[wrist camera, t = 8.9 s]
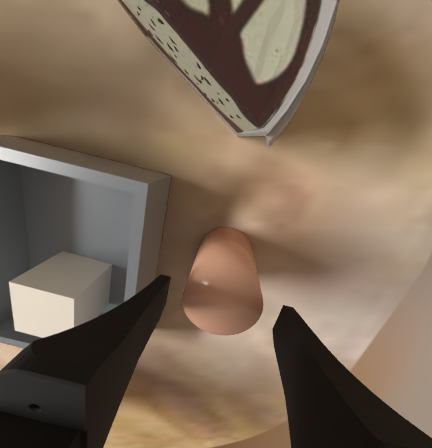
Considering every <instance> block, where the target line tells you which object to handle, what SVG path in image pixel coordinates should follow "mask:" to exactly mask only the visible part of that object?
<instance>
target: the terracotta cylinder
mask: <svg viewBox="0 0 432 448" xmlns="http://www.w3.org/2000/svg"><path fill="white" fill-rule="evenodd" d="M182 302H183V308H184V311H185V313H186V315H187V317H188V318H189V319H190V321H191V322H192V323H193V324H195V325H196V326H197V327H199V328H200V329H202V330H204V331H206V332H209V333H212V334H217V335H234V334H238V333H241V332H244V331H246V330H247V329H249V328H251V327H252V326H253V325H254V324H255V323H256V322H257V321H258V319H259V318H260V316H261V314H262V311H263V298H262V293H261V288H260V284H259V279H258V274H257V269H256V265H255V260H254V255H253V250H252V246H251V243H250V241H249V239H248V238H247V237H246V236H245V235H244V234H243V233H242V232H240V231H238V230H236V229H233V228H226V227H225V228H218V229H215V230H213V231H211V232H209V233H208V234H207V235H206V236H205V237H204V238H203V240H202V242H201V245H200V247H199V250H198V253H197V256H196V259H195V262H194V264H193V267H192V270H191V273H190V276H189V279H188V281H187V284H186V287H185V290H184V293H183V298H182Z"/></svg>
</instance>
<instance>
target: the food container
mask: <svg viewBox="0 0 432 448" xmlns="http://www.w3.org/2000/svg"><path fill="white" fill-rule="evenodd" d="M118 1H119V3H120V4H121V5H122V7H123V8H124V9H125V11H126V12H127V13H128V14H129V16H130V17H131V18H132V20H133V21H134V22H135V24H136V25H137V26H138V28H139V29H140V30H141V31H142V33H143V34H144V35H145V37H146V38H147V39H148V40H149V41H150V42H151V43H152V44H153V45H154V46H155V47H156V48H157V50H158V51H159V52H160V53H161V54H162V55H163V56H164V57H165V58H166V59H167V60H168V61H169V63H170V64H171V65H172V66H173V67H174V68H175V69H176V70H177V71H178V72H179V73H180V74H181V76H182V77H183V78H184V79H185V80H186V81H187V82H188V83H189V84H190V85H191V86H192V87H193V89H194V90H195V91H196V92H197V93H198V94H199V95H200V96H201V97H202V98H203V99H204V100H205V102H206V103H207V104H208V105H209V106H210V107H211V108H212V109H213V110H214V111H215V112H216V113H217V115H218V116H219V117H220V118H221V119H222V120H223V121H224V122H225V123H226V124H227V125H228V126H229V128H230V129H231V130H232V131H233V132H234V133H235V134H236V135H237V136H238V137H244V136H264V137H265V138H266V146H267V147H268V148H269V147H270V146H271V144H272V143H273V142H274V141H275V140H276V138H277V137H278V136H279V135H280V134H281V133H282V131H283V130H284V129H285V128H286V126H287V124H288V123H289V121H290V120H291V118H292V117H293V115H294V114H295V112H296V111H297V109H298V107H299V106H300V104H301V102H302V100H303V98H304V96H305V94H306V92H307V89H308V87H309V85H310V83H311V81H312V79H313V77H314V75H315V73H316V70H317V68H318V66H319V64H320V62H321V60H322V57H323V54H324V51H325V48H326V45H327V42H328V39H329V36H330V33H331V30H332V27H333V24H334V21H335V17H336V12H337V8H338V3H339V0H118Z"/></svg>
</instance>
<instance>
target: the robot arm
mask: <svg viewBox="0 0 432 448" xmlns="http://www.w3.org/2000/svg"><path fill="white" fill-rule="evenodd" d="M170 278H171V277H169V276H165V275H159V276H158V277H157V278H156V279H155V280H153V281H152V282H151V283H150V284H149V285H147V286H146V287H145V288H143V289H142V290H141V291H139V292H138V293H137V294H135V295H134V296H132V297H131V298H129V299H128V300H126V301H125V302H123V303H122V304H120V305H119V306H117V307H115V308H113V309H112V310H110V311H108V312H106V313H104V314H102V315H100V316H98V317H96V318H94V319H92V320H90V321H88V322H85V323H83V324H81V325H78V326H76V327H73V328H70V329H68V330H65V331H62V332H60V333H57V334H53V335H50V336H47V337H44V338H41V339H38V340H35V341H33V342H32V343H31V344H29V345H28V346H27V347H26V348H24V349H23V350H22V351H21V352H20V353H19V354H18V355H17V356H16V357H14V358H13V359H12V360H11V361H10V362H9V363H8V364H7V365H6V366H5V367H4V368H3V369H2V370H1V371H0V448H103V447H104V444H105V441H106V439H107V436H108V434H109V431H110V429H111V426H112V423H113V421H114V418H115V416H116V413H117V411H118V408H119V406H120V403H121V401H122V398H123V396H124V393H125V391H126V389H127V386H128V384H129V381H130V379H131V376H132V374H133V372H134V369H135V367H136V364H137V362H138V360H139V358H140V356H141V354H142V352H143V350H144V348H145V346H146V344H147V342H148V340H149V338H150V336H151V334H152V332H153V331H154V329H155V327H156V325H157V323H158V321H159V319H160V317H161V314H162V311H163V309H164V306H165V304H166V299H167V294H168V289H169V283H170ZM273 340H274V348H275V353H276V358H277V362H278V366H279V371H280V375H281V380H282V384H283V389H284V394H285V400H286V407H287V414H288V422H289V431H290V439H291V448H432V438H430V437H429V436H428V435H426V434H425V433H424V432H422V431H421V430H420V429H418V428H417V427H416V426H414V425H413V424H411V423H410V422H409V421H407V420H406V419H405V418H403V417H402V416H401V415H399V414H398V413H397V412H396V411H394V410H393V409H392V408H390V407H389V406H388V405H387V404H386V403H384V402H383V401H382V400H381V399H380V398H378V397H377V396H376V395H375V394H374V393H372V392H371V391H370V390H369V389H368V388H367V387H366V386H365V385H363V384H362V383H361V382H360V381H359V380H358V379H357V378H356V377H355V376H354V375H353V374H352V373H350V372H349V371H348V370H347V369H346V368H345V367H344V366H343V365H342V364H341V363H340V362H339V361H338V360H337V358H336V357H335V356H334V355H333V354H332V353H331V352H330V351H329V350H328V349H327V348H326V346H325V345H324V344H323V343H322V342H321V341H320V340H319V338H318V337H317V336H316V335H315V334H314V332H313V331H312V330H311V329H310V328H309V326H308V325H307V324H306V323H305V321H304V320H303V319H302V318H301V316H300V315H299V314H298V313H297V312H296V310H295V309H294V308H293V307H289V306H285V305H283V307H282V309H281V312H280V314H279V316H278V318H277V321H276V323H275V325H274V327H273Z"/></svg>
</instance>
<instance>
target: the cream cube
mask: <svg viewBox="0 0 432 448" xmlns="http://www.w3.org/2000/svg"><path fill="white" fill-rule="evenodd" d="M111 272H112V264H109V263H106V262H102V261H98V260H94V259H91V258H87V257H83V256H79V255H76V254H72V253H68V252H64V251H62V252H60V253H58V254H57V255H55V256H53V257H51V258H50V259H48V260H46V261H44V262H43V263H41V264H39V265H37V266H36V267H34V268H32V269H30V270H29V271H27V272H25V273H23V274H22V275H20V276H18V277H16V278H15V279H13V280H11V281H9V288H10V296H11V304H12V312H13V320H14V328H15V331H19V332H22V333H26V334H30V335H34V336H38V337H42V338H44V337H47V336H50V335H53V334H57V333H60V332H62V331H65V330H68V329H70V328H73V327H76V326H78V325H81V324H83V323H85V322H88V321H90V320H92V319H94V318H96V317H98V316H99V315H100V313H101V312H102V311H103V310H104V309H105V307H106V306H107V305H108V304H109V294H110V283H111Z"/></svg>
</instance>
